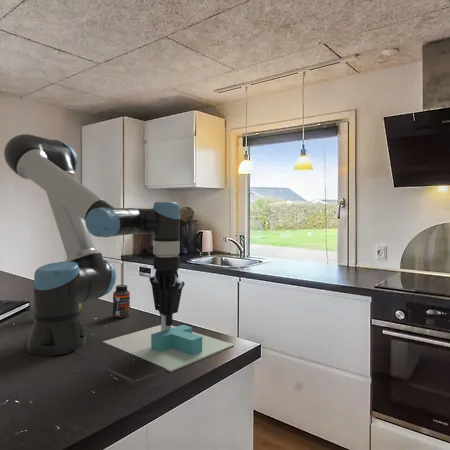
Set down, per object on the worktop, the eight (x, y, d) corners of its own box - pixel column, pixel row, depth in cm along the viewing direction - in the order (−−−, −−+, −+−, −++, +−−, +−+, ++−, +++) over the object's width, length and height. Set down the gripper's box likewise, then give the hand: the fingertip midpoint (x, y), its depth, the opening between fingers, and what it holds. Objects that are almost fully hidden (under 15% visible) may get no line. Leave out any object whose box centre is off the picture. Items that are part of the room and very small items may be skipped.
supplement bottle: (119, 319, 136) (119, 287, 136) (109, 316, 140) (109, 285, 140) (133, 316, 141) (133, 285, 141) (122, 313, 145) (122, 283, 144)
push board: (170, 372, 93) (170, 370, 93) (102, 343, 112) (102, 341, 112) (233, 346, 111) (233, 344, 111) (165, 324, 131) (165, 323, 131)
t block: (180, 359, 99) (180, 344, 99) (151, 348, 107) (151, 334, 107) (212, 347, 109) (212, 333, 108) (182, 337, 116) (182, 324, 116)
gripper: (191, 256, 110) (191, 337, 111) (162, 252, 118) (161, 328, 119) (171, 258, 104) (171, 344, 105) (142, 254, 113) (142, 334, 114)
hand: (166, 335), depth 112 cm, fingers closed
